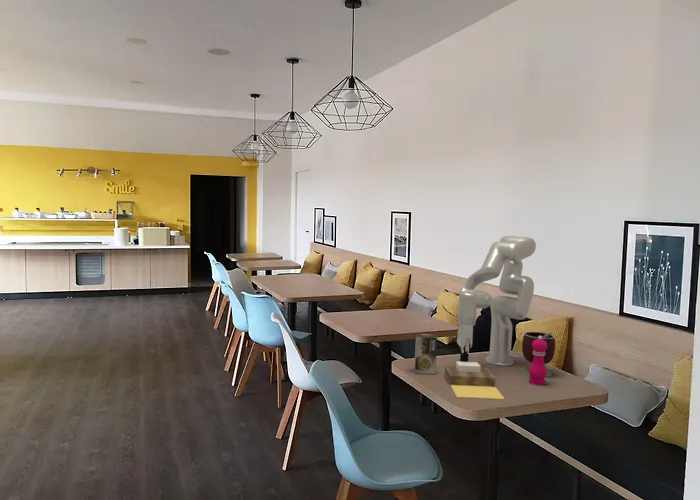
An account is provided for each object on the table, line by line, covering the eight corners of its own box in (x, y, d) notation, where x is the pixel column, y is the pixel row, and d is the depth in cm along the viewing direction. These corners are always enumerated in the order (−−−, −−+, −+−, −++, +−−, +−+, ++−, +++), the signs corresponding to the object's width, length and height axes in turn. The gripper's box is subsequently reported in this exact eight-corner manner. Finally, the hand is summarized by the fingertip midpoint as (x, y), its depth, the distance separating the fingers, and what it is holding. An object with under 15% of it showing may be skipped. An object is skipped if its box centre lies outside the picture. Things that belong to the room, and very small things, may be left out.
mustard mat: (494, 387, 222) (495, 386, 222) (504, 399, 208) (504, 398, 208) (450, 385, 222) (450, 384, 222) (456, 397, 208) (457, 396, 208)
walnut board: (486, 377, 236) (487, 367, 236) (494, 387, 222) (495, 377, 222) (444, 375, 236) (445, 366, 236) (450, 385, 222) (450, 376, 222)
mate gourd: (514, 368, 251) (517, 325, 250) (541, 367, 254) (544, 325, 253) (533, 379, 236) (536, 333, 234) (561, 378, 239) (565, 332, 238)
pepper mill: (529, 379, 236) (532, 333, 234) (547, 381, 233) (550, 335, 231) (526, 383, 230) (530, 336, 228) (545, 386, 226) (548, 338, 225)
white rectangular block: (477, 368, 235) (477, 362, 235) (480, 372, 229) (480, 366, 229) (455, 367, 235) (456, 361, 235) (458, 371, 229) (459, 365, 229)
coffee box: (434, 370, 243) (436, 334, 242) (435, 374, 237) (437, 337, 235) (413, 368, 244) (415, 332, 243) (414, 373, 237) (416, 336, 236)
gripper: (454, 316, 246) (452, 357, 247) (461, 323, 231) (458, 366, 233) (471, 317, 246) (469, 357, 247) (479, 324, 231) (476, 367, 233)
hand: (464, 362), depth 240 cm, fingers closed
